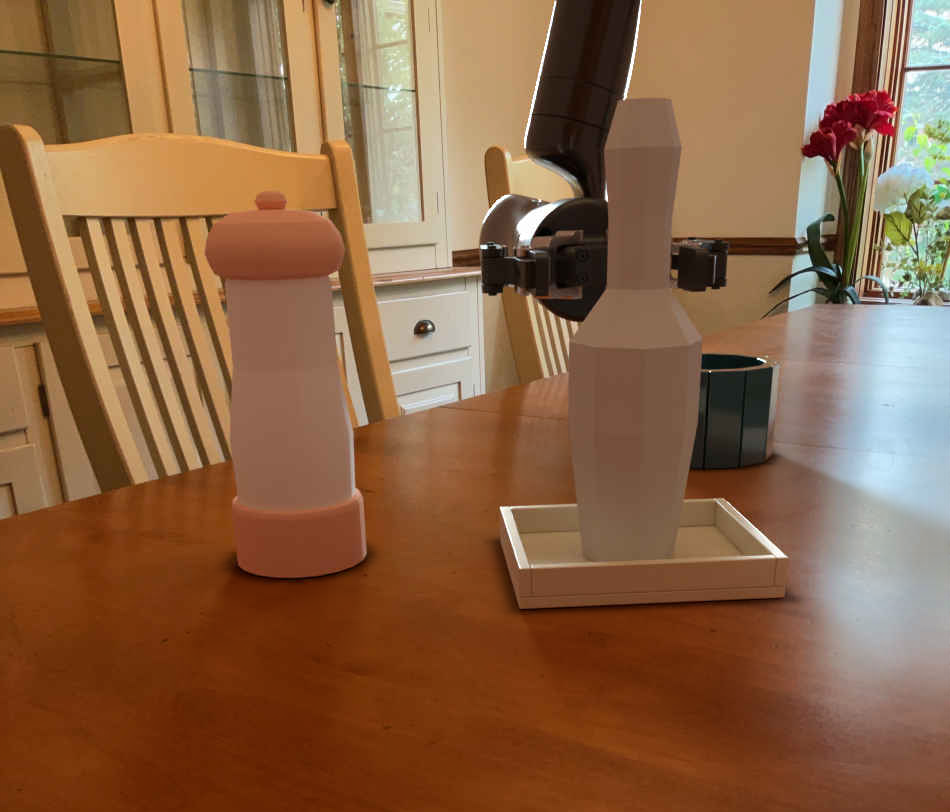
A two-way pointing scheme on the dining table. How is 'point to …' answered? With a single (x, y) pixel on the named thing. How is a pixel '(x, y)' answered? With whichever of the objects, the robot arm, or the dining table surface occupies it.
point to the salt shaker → (287, 393)
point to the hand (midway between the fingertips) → (622, 273)
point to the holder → (735, 410)
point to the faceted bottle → (635, 355)
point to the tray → (641, 581)
